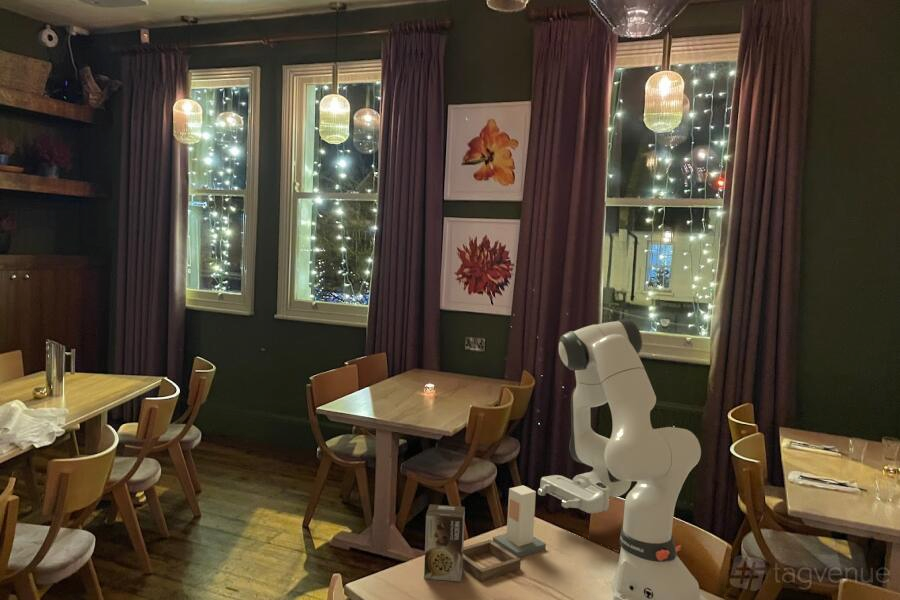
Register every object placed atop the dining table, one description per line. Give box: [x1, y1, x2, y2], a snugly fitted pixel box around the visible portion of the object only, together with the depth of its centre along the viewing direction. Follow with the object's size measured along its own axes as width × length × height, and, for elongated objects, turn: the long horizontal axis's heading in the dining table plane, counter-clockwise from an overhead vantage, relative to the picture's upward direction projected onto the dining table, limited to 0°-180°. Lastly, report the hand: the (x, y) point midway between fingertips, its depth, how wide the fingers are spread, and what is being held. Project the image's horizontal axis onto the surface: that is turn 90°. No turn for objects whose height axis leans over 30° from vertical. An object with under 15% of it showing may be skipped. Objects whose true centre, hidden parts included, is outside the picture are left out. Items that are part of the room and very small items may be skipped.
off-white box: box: [506, 484, 537, 547], centre depth 175 cm, size 5×5×14 cm
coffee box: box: [423, 503, 466, 582], centre depth 159 cm, size 9×6×16 cm
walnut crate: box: [463, 539, 522, 582], centre depth 165 cm, size 12×12×2 cm
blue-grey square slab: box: [492, 532, 547, 558], centre depth 176 cm, size 10×10×2 cm
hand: (551, 498), depth 181 cm, fingers open, 8 cm apart
